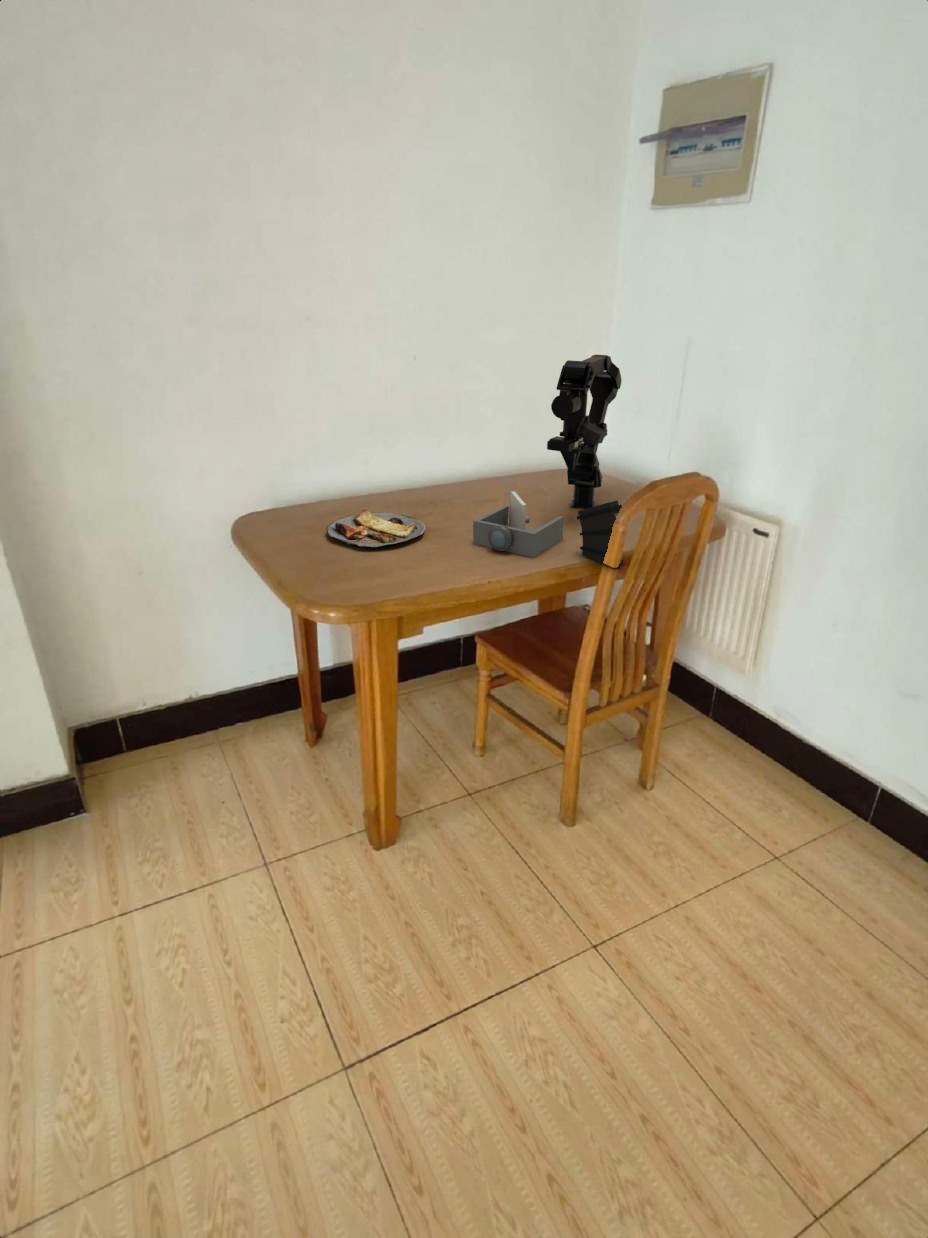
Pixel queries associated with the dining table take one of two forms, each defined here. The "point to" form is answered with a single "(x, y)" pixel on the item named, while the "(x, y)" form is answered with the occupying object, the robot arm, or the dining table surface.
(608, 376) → the robot arm
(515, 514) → the side door
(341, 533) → the food plate
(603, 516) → the black ribbed curved block
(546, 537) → the grey open box
